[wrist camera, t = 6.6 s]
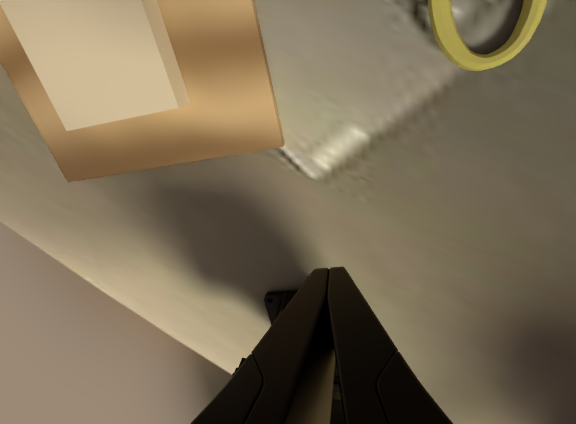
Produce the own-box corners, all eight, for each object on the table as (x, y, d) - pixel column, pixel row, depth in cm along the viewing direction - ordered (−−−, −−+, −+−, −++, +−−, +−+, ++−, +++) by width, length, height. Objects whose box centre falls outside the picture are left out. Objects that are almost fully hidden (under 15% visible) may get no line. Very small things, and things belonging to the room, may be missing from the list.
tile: (178, 107, 17) (66, 131, 19) (191, 102, 19) (85, 124, 20) (123, -52, 14) (-6, -8, 16) (142, -44, 15) (22, -4, 17)
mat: (284, 143, 20) (283, 146, 19) (73, 178, 23) (67, 182, 22) (216, -175, 13) (211, -183, 13) (-59, -62, 17) (-71, -65, 16)
